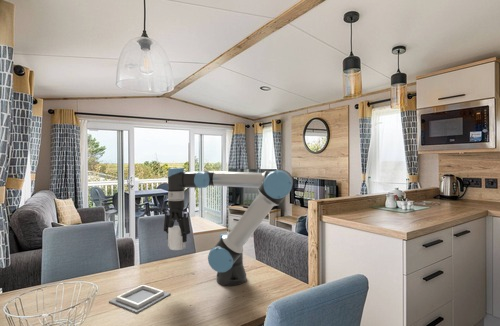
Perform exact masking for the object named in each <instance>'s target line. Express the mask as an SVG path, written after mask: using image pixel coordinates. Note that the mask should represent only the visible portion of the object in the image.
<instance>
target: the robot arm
mask: <svg viewBox="0 0 500 326" xmlns="http://www.w3.org/2000/svg"><path fill="white" fill-rule="evenodd" d="M293 185H294V178H293V176H292V174H291V173H290V172H288V171H287V170H285V169H275V170H265V171H264V172H254V171H253V172H251V171H250V172H248V171H225V170H223V171H222V170H221V171H218V170H216V171H215V170H207V169H206V170H201V171H199V170H198V171H185V168H184V167H170V168H168V171H167V188H168V190H167V191H168V192H167V193H168V194H167V199H168V201H167V202H168V204H167V207H168V209H169V210H166V211H164V212H163V213H164V223H163V232H166V239H167V247H168V248H170V246H169V235H168V228H169V227H170V228H172V227H173V226H175V222H177V223H178V226H179V227H180V229H181V234H182V235H181V236H180V238H181V250H180V251H182V250H185V249H186V248H187V245H186V244H187V237H188V235H189V234H191V227H190V219H189V217H190V216H189V215H190V214H189V212H185V210H184V208H185V200H184V199H185V188H190V189H192V188H193V189H194V188H197V189H205V188H207V187H208V186H210V187H215V186H216V187H233V188H251V189H252V188H255V189H257V192H258V194H257V195H256V197H255V198H254V199H253V201H252V202H251V204H250V205H249V206H248V207H247V209H246V210H245V211H244V213H243V214H242V215H241V216H240V218H239V220H238V221H237V222H236V223H235V225H234V226H233V227H232V229H231V230H230V231H229V233H221V234H220V235H219V238H218V242H217V243H216V244H215V245H214V246H213V247H212V248H211V249H210V251H209V253H208V254H207V260H208V264H209V266H210V268H211V269H212V270H213V271H215V272H217V273H216V282H217V283H218V284H220V285H221V286H222V285H223V286H230V287H231V286H238V285H241V284H244V283H245V282H246V281H247V273H246V270H245V267H244V264H243V263H244V261H243V260H244V256H243V255H244V253H243V252H244V245H245V244H246V243H247V241H248V240H249V239H250V238H251V236H252V235H253V234H254V232H255V231H256V230H257V229H258V228H259V226H261V223H262V222H263V221H264V219H265V218H266V217H267V216H268V214H270V212H271V210H272V209H273V208H274V207H276V206H280V205H281V203H282V202H283V201H284V199H285V198H286V197H287V196H288V195H289V194H290V193H291V191H292V189H293Z"/></svg>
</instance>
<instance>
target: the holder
mask: <svg viewBox="0 0 500 326" xmlns="http://www.w3.org/2000/svg"><path fill="white" fill-rule="evenodd" d="M171 295H172V293H171V292H167V291H165V290H162V289H159V288H156V287H153V286H149V285H146V284H141V285H139V286H136V287H134V288H132V289H130V290H128V291H125V292H124V293H121V294H120V295H117V296H116V297H114V298H112V299H109V301H108V303H109V304H112V305H115V306H116V307H119V308H122V309H125V310H127V311H130V312H131V313H135V314H139V313H140V312H142V311H144V310H146V309H148V308H149V307H151V306H153V305H154V304H156V303H158V302H160V301H162V300H164V299H165V298H167V297H170V296H171Z"/></svg>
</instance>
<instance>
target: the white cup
mask: <svg viewBox="0 0 500 326" xmlns="http://www.w3.org/2000/svg"><path fill="white" fill-rule="evenodd" d="M168 235H169V246H170V247H169V249H170V250H172V251H179V250H180V251H182V250H181V238H180V236H181V235H182V234H181V229H180V227H179V225H173V227H172V228H170V227H169V228H168Z"/></svg>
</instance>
